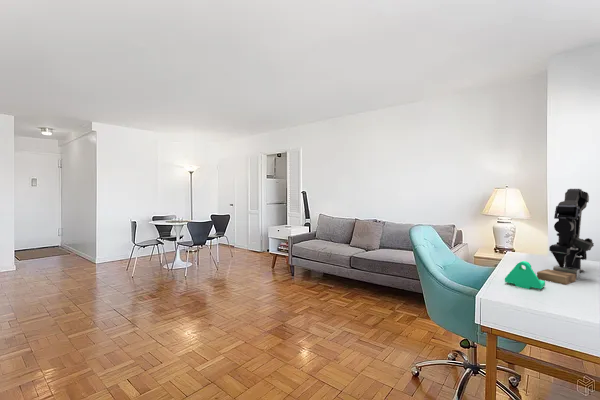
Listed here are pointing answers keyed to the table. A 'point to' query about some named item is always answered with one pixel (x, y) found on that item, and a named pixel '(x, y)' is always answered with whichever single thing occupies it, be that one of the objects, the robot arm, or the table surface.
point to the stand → (556, 276)
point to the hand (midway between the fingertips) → (566, 266)
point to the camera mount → (524, 277)
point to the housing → (567, 270)
